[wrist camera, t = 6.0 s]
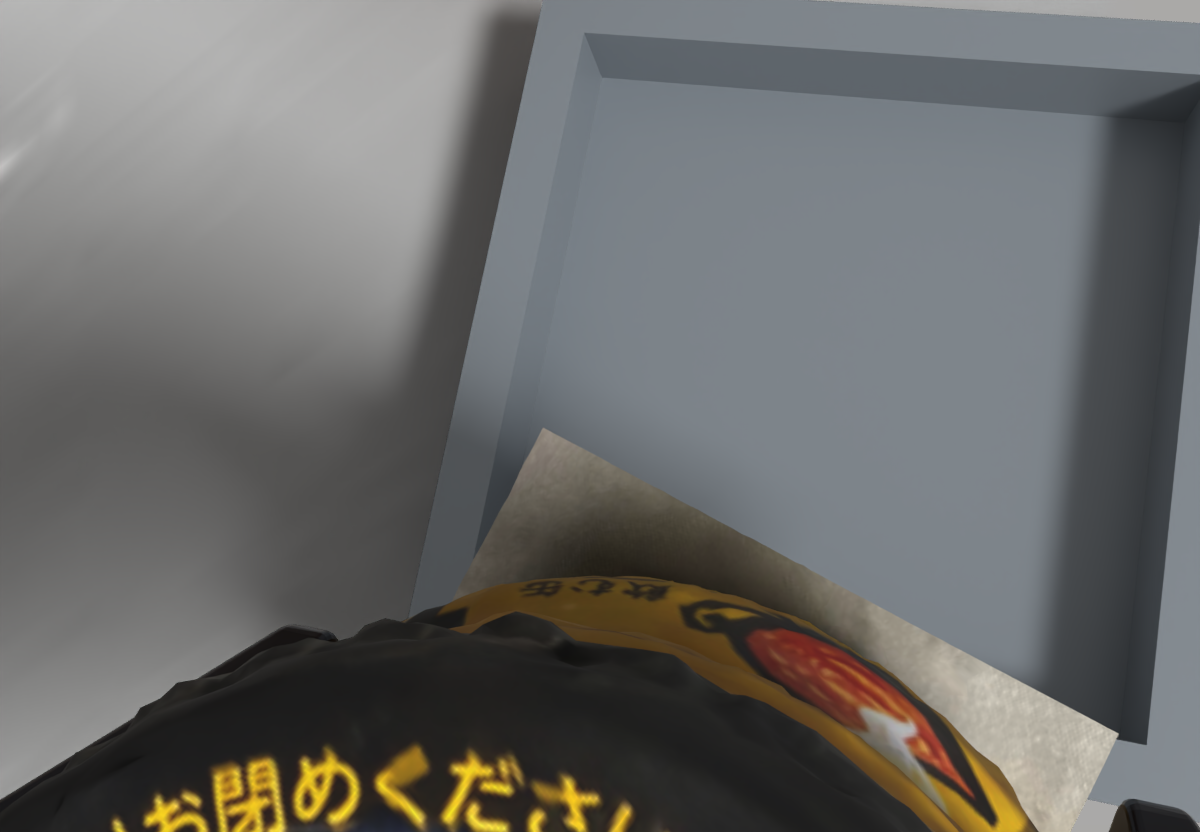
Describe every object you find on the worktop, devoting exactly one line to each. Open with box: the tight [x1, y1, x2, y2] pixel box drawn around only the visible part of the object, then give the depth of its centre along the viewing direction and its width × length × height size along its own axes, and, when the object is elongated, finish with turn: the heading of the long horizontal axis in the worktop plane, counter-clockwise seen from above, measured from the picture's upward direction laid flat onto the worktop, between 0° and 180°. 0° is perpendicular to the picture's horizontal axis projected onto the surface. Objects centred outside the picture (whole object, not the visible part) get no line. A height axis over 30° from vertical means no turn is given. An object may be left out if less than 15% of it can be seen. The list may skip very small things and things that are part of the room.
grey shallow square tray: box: [408, 0, 1200, 823], centre depth 22 cm, size 14×14×3 cm
